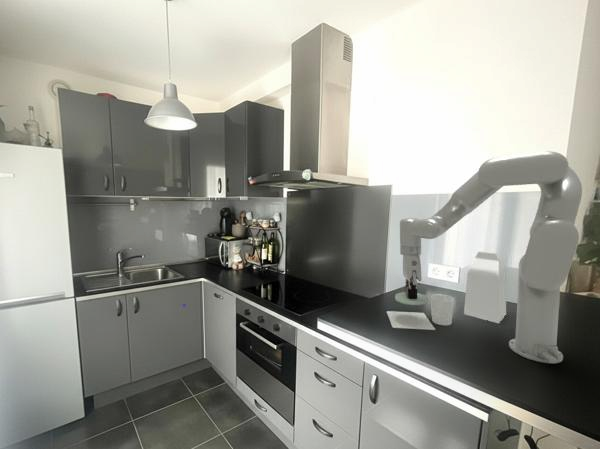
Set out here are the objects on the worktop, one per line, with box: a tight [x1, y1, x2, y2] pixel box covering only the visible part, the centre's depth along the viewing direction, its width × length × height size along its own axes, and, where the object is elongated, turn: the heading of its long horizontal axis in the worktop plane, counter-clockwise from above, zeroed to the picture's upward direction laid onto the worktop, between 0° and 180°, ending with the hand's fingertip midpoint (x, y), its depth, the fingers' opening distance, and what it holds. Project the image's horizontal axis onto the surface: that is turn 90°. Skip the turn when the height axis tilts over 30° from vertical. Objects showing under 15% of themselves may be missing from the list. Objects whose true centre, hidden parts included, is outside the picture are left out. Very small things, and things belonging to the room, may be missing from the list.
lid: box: [394, 286, 429, 306], centre depth 105 cm, size 12×12×5 cm
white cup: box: [430, 293, 455, 326], centre depth 104 cm, size 8×8×10 cm
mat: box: [386, 310, 436, 331], centre depth 107 cm, size 15×15×1 cm
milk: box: [463, 250, 507, 324], centre depth 110 cm, size 12×12×26 cm
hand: (411, 296), depth 105 cm, fingers closed on lid, 3 cm apart
